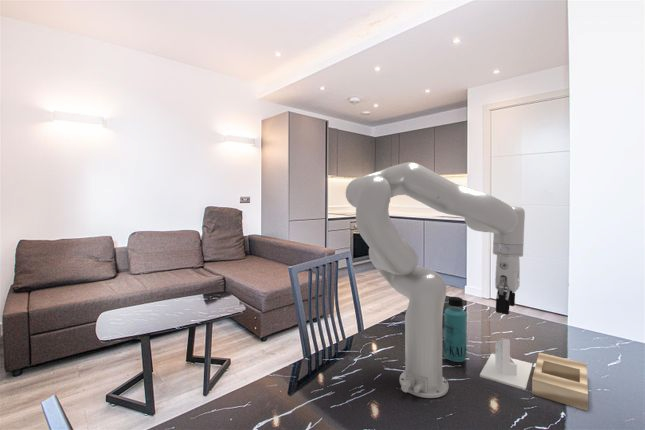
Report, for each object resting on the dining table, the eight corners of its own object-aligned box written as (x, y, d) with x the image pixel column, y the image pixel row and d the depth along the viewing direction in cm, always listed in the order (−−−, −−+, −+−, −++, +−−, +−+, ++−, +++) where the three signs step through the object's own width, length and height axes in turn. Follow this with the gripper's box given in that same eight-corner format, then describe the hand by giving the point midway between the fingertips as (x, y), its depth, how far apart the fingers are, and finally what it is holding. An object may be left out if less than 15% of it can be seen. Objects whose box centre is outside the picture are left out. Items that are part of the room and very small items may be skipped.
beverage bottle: (449, 354, 104) (449, 293, 104) (470, 361, 100) (470, 297, 99) (439, 362, 100) (439, 297, 99) (461, 369, 95) (461, 302, 94)
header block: (587, 410, 76) (588, 394, 76) (532, 394, 83) (532, 378, 83) (586, 377, 90) (586, 363, 90) (538, 365, 97) (539, 352, 97)
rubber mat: (525, 390, 84) (525, 388, 84) (479, 376, 91) (479, 374, 91) (532, 365, 97) (532, 363, 97) (491, 355, 104) (491, 353, 104)
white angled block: (508, 373, 87) (502, 339, 91) (496, 375, 95) (492, 343, 99) (523, 375, 86) (517, 340, 90) (510, 376, 95) (505, 344, 99)
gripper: (518, 254, 84) (515, 320, 84) (526, 248, 97) (524, 304, 98) (486, 251, 88) (484, 313, 89) (498, 245, 102) (496, 300, 102)
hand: (505, 309), depth 93 cm, fingers open, 9 cm apart
